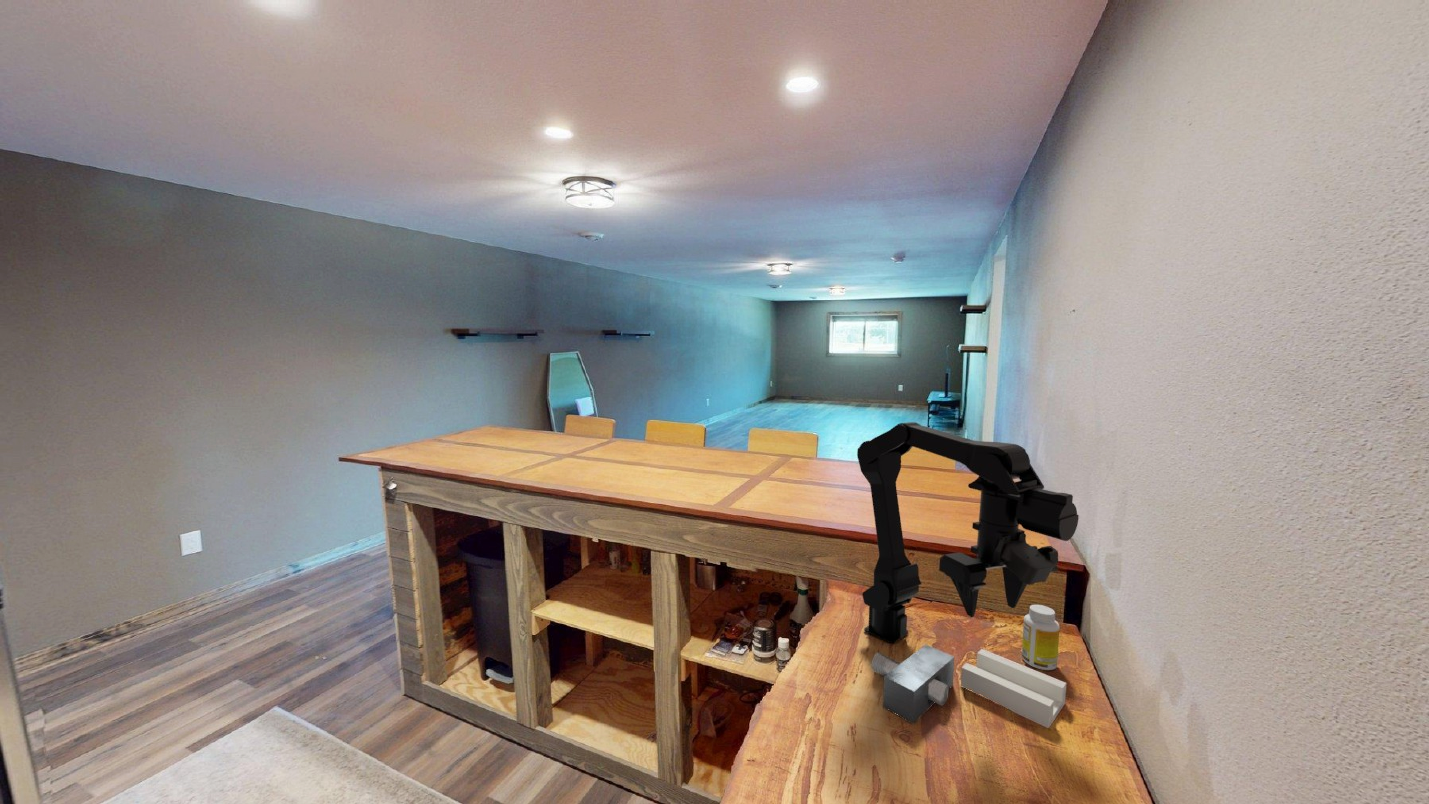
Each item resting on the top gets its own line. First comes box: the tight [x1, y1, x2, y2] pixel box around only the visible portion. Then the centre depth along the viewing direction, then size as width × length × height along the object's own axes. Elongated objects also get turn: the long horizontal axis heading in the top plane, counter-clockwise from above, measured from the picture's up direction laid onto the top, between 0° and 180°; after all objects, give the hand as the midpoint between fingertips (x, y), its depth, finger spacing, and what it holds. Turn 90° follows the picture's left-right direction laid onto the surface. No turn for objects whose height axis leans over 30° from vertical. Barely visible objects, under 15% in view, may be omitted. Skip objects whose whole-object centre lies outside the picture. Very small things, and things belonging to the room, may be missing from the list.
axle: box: [871, 652, 950, 706], centre depth 86 cm, size 12×3×3 cm, turn 42°
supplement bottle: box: [1021, 604, 1060, 671], centre depth 94 cm, size 6×6×10 cm
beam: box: [882, 644, 955, 725], centre depth 84 cm, size 5×14×5 cm, turn 132°
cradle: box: [960, 648, 1067, 729], centre depth 85 cm, size 13×9×4 cm, turn 42°
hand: (991, 611), depth 85 cm, fingers open, 9 cm apart
